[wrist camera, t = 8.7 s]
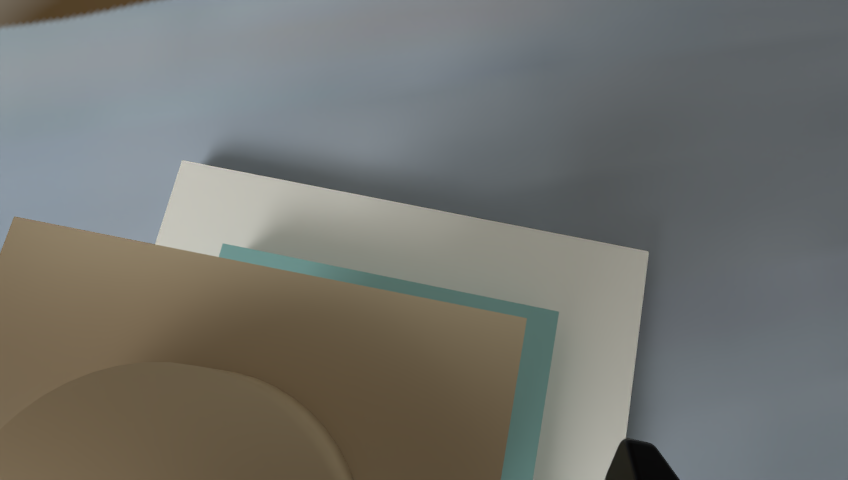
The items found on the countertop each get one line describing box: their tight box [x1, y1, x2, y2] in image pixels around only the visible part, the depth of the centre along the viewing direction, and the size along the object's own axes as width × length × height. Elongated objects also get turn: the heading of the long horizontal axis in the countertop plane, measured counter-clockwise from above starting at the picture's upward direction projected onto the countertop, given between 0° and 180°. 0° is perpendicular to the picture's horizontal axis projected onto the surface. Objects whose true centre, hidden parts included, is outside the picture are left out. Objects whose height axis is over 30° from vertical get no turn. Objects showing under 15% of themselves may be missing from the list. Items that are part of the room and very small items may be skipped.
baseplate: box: [155, 160, 649, 480], centre depth 17 cm, size 14×14×2 cm
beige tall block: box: [0, 217, 527, 480], centre depth 11 cm, size 5×5×13 cm
